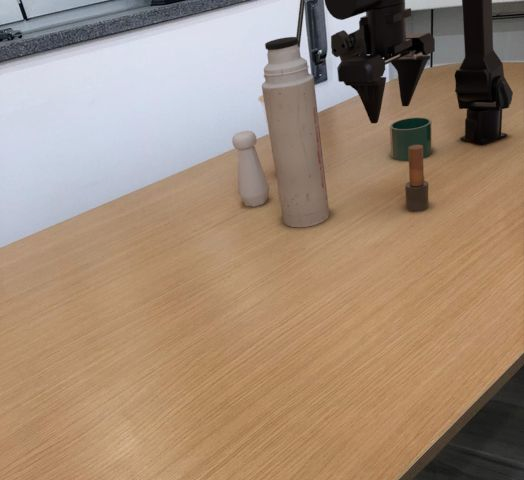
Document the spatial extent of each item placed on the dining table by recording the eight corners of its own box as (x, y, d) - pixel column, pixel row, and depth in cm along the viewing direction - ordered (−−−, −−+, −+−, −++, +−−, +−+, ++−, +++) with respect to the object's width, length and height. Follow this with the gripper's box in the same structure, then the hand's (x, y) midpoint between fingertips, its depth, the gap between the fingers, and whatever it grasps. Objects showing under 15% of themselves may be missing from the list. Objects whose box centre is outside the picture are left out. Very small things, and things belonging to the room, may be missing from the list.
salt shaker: (258, 210, 110) (245, 138, 103) (234, 207, 114) (220, 137, 106) (276, 197, 114) (265, 127, 106) (253, 195, 117) (240, 127, 110)
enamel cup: (414, 144, 125) (413, 115, 122) (439, 152, 119) (439, 121, 116) (383, 155, 123) (382, 125, 119) (407, 163, 117) (406, 132, 113)
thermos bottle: (331, 206, 106) (312, 30, 90) (326, 225, 99) (304, 39, 84) (287, 210, 108) (260, 38, 92) (279, 229, 101) (249, 48, 86)
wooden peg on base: (419, 201, 101) (417, 141, 96) (433, 206, 98) (432, 145, 93) (401, 207, 100) (399, 147, 95) (415, 213, 97) (413, 152, 92)
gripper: (374, -3, 99) (380, 97, 107) (303, 22, 88) (315, 129, 97) (436, -9, 92) (436, 98, 100) (366, 17, 81) (373, 133, 90)
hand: (390, 114), depth 97 cm, fingers open, 9 cm apart
